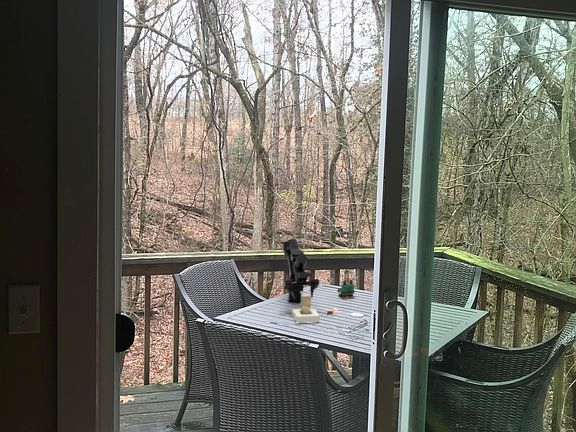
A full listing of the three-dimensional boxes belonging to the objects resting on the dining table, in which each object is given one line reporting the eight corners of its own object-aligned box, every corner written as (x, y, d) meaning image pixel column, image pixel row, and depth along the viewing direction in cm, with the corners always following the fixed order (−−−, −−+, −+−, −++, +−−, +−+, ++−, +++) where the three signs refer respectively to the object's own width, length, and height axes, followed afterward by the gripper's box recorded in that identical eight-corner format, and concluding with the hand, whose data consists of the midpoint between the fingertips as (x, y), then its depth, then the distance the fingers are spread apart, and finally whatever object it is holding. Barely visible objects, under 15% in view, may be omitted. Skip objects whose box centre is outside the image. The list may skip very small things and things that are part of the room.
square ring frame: (292, 316, 329) (292, 308, 328) (313, 314, 331) (314, 307, 330) (296, 324, 317) (296, 316, 317) (319, 323, 320) (319, 315, 319)
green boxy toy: (347, 277, 367) (356, 280, 358) (347, 294, 368) (356, 298, 360) (334, 279, 363) (343, 282, 354) (334, 296, 364) (343, 300, 355)
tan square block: (301, 318, 326) (301, 294, 323) (308, 317, 327) (309, 294, 324) (302, 321, 322) (303, 297, 319) (310, 320, 323) (310, 297, 320)
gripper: (285, 265, 328) (288, 292, 319) (319, 264, 331) (323, 290, 323) (282, 275, 337) (285, 301, 329) (315, 274, 340) (319, 299, 332)
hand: (303, 298), depth 328 cm, fingers open, 9 cm apart
